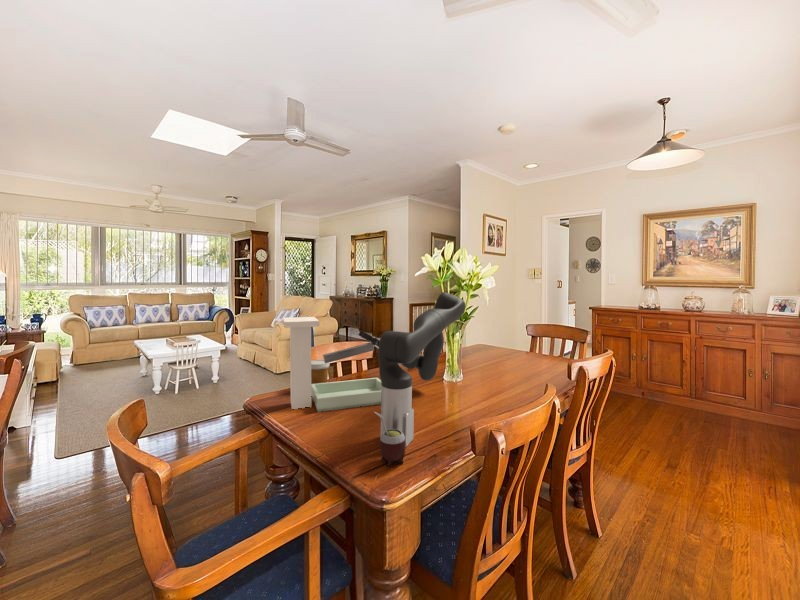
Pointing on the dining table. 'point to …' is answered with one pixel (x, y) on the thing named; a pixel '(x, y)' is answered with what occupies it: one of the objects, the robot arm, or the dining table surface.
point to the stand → (300, 359)
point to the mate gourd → (392, 445)
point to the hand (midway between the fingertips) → (361, 333)
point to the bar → (348, 352)
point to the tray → (346, 394)
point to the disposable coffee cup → (319, 371)
